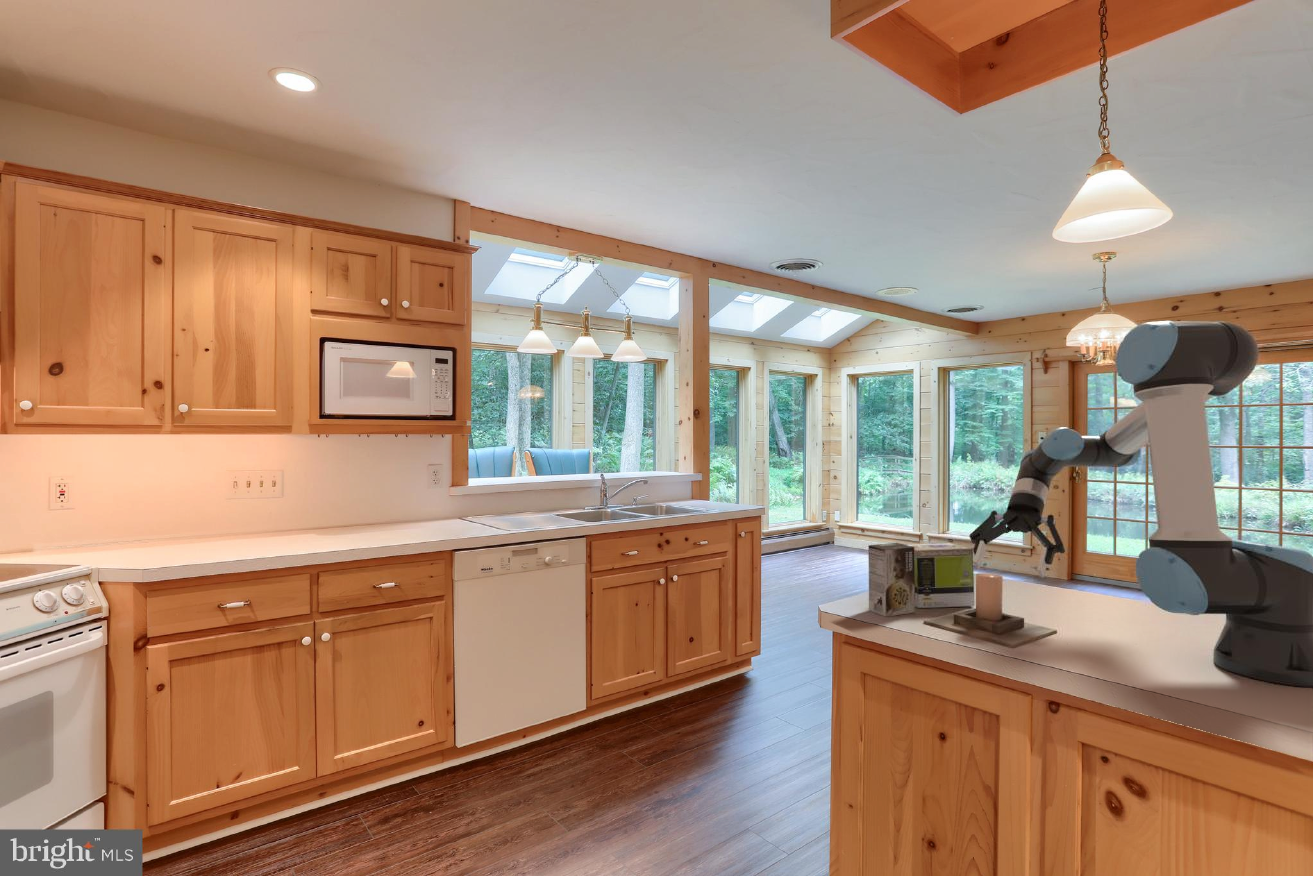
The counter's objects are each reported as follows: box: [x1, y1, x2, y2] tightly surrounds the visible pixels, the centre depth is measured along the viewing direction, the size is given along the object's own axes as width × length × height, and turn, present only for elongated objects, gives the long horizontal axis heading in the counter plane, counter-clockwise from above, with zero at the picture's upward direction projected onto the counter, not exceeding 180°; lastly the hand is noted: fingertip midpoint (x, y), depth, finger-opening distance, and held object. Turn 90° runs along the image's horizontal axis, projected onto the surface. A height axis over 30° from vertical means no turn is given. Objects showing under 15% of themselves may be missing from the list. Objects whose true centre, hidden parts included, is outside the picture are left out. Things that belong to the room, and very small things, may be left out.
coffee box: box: [868, 542, 916, 617], centre depth 153 cm, size 9×6×16 cm
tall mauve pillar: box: [975, 572, 1003, 623], centre depth 140 cm, size 5×5×11 cm
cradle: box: [922, 608, 1058, 648], centre depth 140 cm, size 20×18×3 cm
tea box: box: [905, 542, 975, 609], centre depth 161 cm, size 15×10×15 cm, turn 95°
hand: (1007, 569), depth 146 cm, fingers open, 13 cm apart
